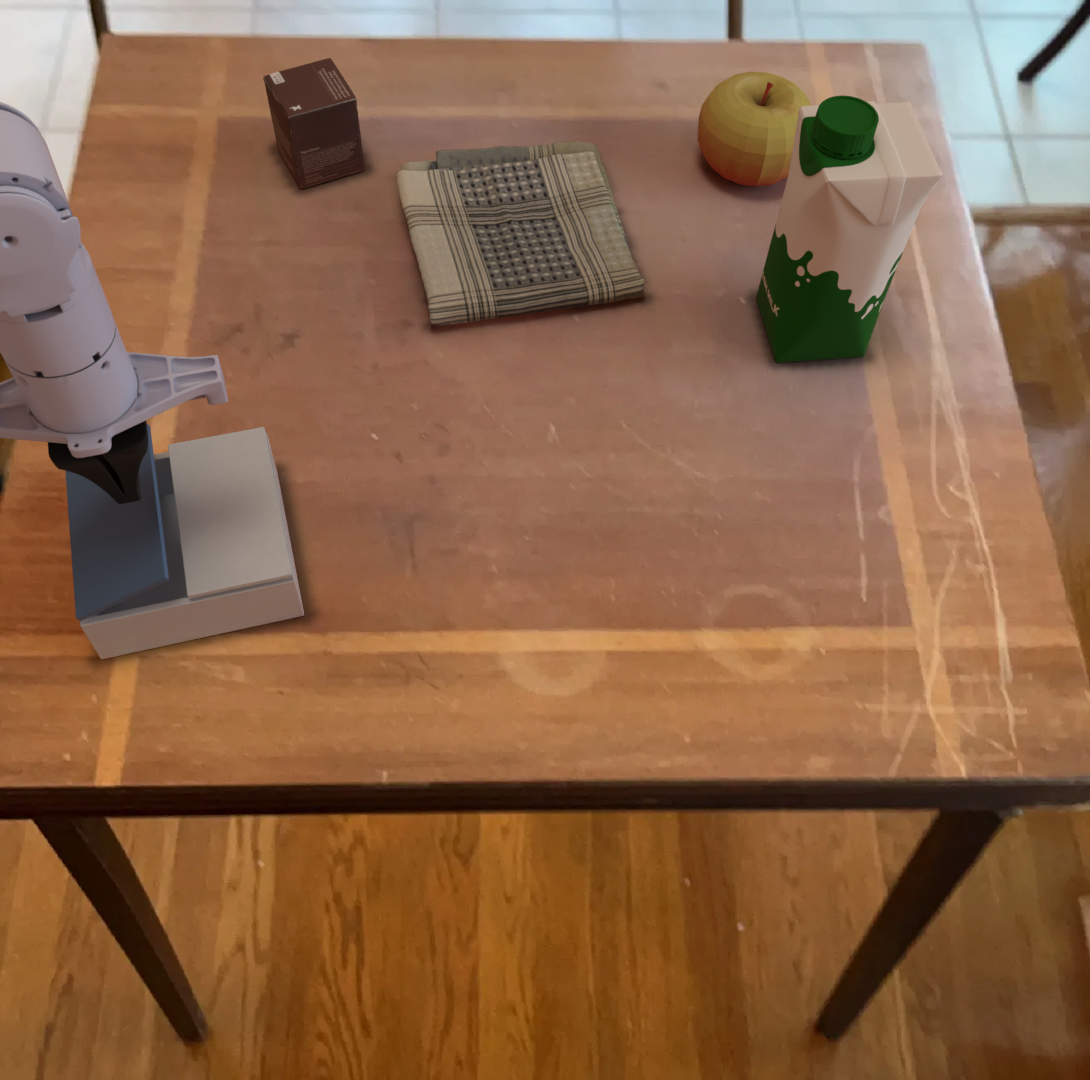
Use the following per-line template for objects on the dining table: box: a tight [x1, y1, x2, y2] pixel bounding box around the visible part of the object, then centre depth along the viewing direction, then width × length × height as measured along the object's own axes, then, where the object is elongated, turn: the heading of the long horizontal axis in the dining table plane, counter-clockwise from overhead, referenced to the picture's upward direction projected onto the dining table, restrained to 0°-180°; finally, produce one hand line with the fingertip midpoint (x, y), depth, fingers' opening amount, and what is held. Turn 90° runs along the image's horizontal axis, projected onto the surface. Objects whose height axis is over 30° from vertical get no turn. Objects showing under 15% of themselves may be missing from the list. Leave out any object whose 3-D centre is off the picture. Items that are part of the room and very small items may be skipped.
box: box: [262, 57, 366, 189], centre depth 98 cm, size 6×6×7 cm
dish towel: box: [396, 140, 646, 326], centre depth 95 cm, size 19×18×3 cm
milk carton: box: [755, 95, 944, 364], centre depth 84 cm, size 9×9×20 cm
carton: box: [79, 426, 305, 660], centre depth 77 cm, size 13×12×5 cm
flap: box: [64, 423, 169, 622], centre depth 73 cm, size 6×12×1 cm, turn 15°
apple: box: [697, 71, 812, 187], centre depth 99 cm, size 10×10×8 cm
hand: (128, 489), depth 71 cm, fingers closed
